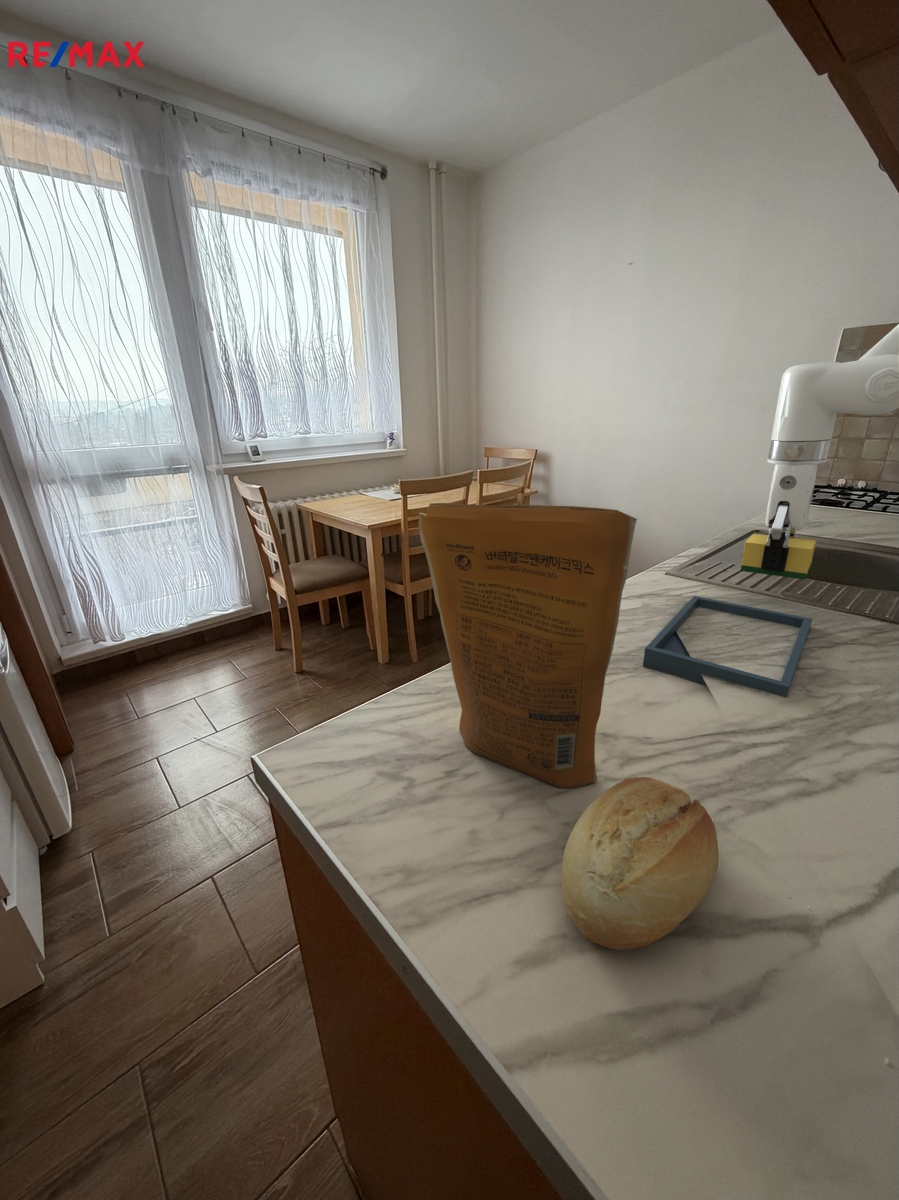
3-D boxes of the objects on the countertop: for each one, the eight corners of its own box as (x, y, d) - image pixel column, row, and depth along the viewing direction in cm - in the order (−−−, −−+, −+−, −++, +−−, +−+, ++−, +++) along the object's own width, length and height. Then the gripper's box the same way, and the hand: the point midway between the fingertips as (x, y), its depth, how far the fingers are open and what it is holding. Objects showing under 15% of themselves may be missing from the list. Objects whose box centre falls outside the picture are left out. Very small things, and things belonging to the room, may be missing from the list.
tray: (691, 611, 86) (694, 595, 85) (807, 636, 75) (812, 618, 74) (642, 666, 69) (644, 647, 68) (783, 708, 59) (789, 687, 57)
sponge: (747, 561, 86) (752, 534, 84) (809, 569, 80) (816, 540, 78) (740, 571, 81) (745, 542, 80) (805, 579, 76) (812, 549, 74)
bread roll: (734, 858, 40) (753, 783, 37) (658, 1010, 30) (676, 925, 27) (624, 798, 46) (633, 730, 43) (532, 909, 37) (535, 831, 34)
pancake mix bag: (596, 818, 44) (625, 517, 34) (428, 748, 54) (411, 499, 44) (617, 773, 49) (648, 500, 39) (460, 716, 60) (451, 487, 49)
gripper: (822, 459, 65) (795, 583, 72) (833, 446, 77) (809, 554, 84) (758, 458, 70) (738, 575, 77) (778, 447, 82) (759, 549, 89)
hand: (776, 563), depth 80 cm, fingers closed on sponge, 6 cm apart
